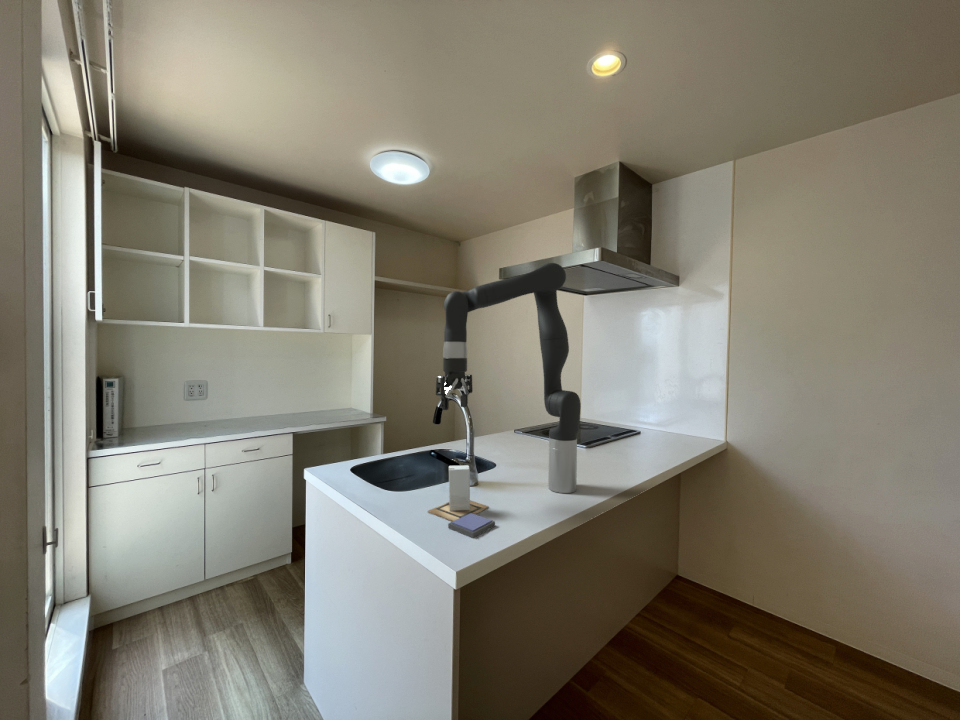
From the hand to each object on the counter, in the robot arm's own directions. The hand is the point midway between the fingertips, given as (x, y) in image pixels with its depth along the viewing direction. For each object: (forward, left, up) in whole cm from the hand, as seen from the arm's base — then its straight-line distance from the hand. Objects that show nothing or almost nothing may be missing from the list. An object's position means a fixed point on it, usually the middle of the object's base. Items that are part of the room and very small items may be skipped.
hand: (454, 408), depth 122 cm
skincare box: (+6, +8, -28) cm, 30 cm away
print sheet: (+6, +8, -28) cm, 30 cm away
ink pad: (+12, +18, -28) cm, 35 cm away
